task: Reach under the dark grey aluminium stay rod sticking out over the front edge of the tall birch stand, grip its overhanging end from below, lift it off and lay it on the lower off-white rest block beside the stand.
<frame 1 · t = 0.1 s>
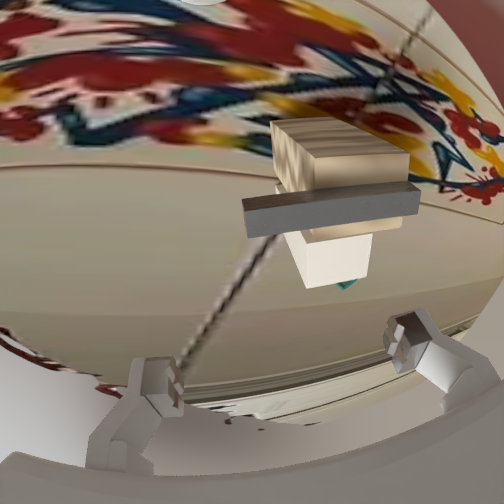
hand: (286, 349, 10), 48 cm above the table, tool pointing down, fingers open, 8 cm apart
stay rod: (332, 199, 32), point 26 cm above the table, touching tall stand
tall stand: (302, 143, 53), on the table
rest block: (300, 200, 60), on the table
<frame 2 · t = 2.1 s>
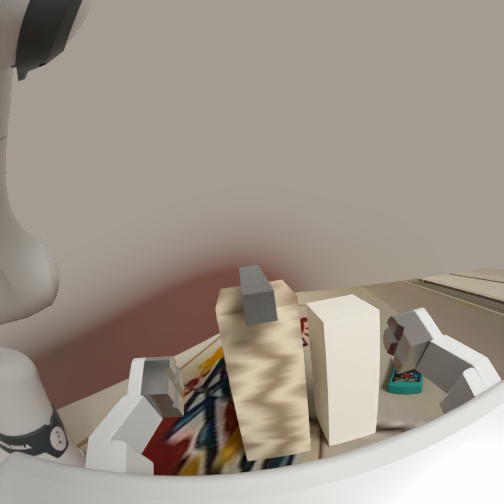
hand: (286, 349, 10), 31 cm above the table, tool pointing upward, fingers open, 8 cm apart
stay rod: (255, 299, 38), point 26 cm above the table, touching tall stand
tall stand: (275, 434, 44), on the table
digital multimeter: (407, 377, 53), on the table
rest block: (343, 423, 43), on the table
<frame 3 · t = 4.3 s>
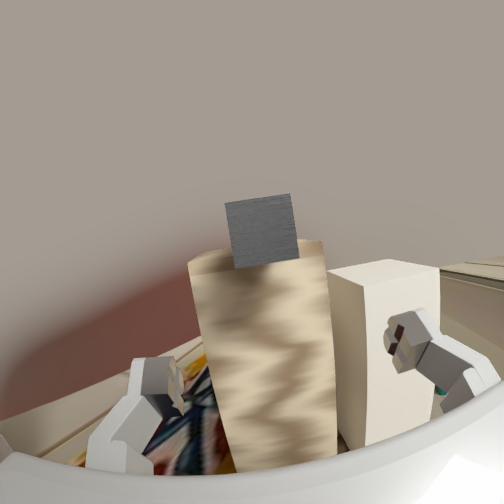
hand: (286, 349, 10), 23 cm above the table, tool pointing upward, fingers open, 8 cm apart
stay rod: (253, 250, 24), point 26 cm above the table, touching tall stand
tall stand: (284, 459, 29), on the table
rest block: (378, 439, 29), on the table
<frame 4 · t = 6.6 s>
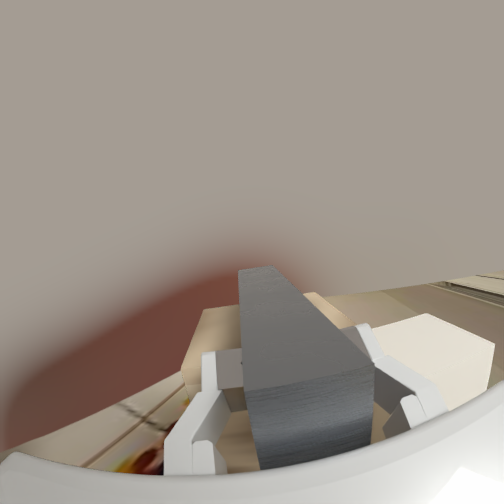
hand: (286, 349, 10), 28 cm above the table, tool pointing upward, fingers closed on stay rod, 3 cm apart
stay rod: (274, 341, 16), point 26 cm above the table, touching gripper, tall stand
rest block: (395, 498, 22), on the table
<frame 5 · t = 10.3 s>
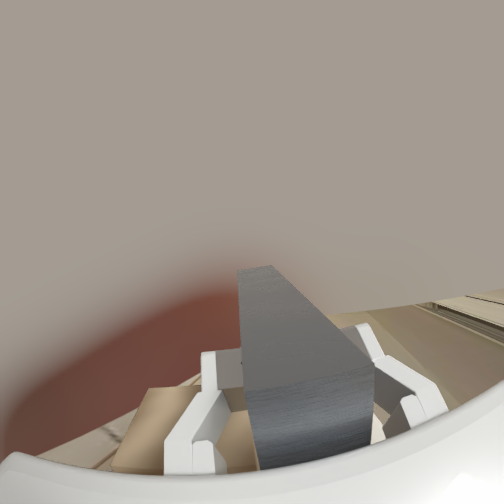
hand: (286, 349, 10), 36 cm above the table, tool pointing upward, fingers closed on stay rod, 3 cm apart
stay rod: (273, 342, 16), point 34 cm above the table, touching gripper
when the fingers open (24 cm above the table, at t = 14.3 s): stay rod stays where it is, resting on rest block.
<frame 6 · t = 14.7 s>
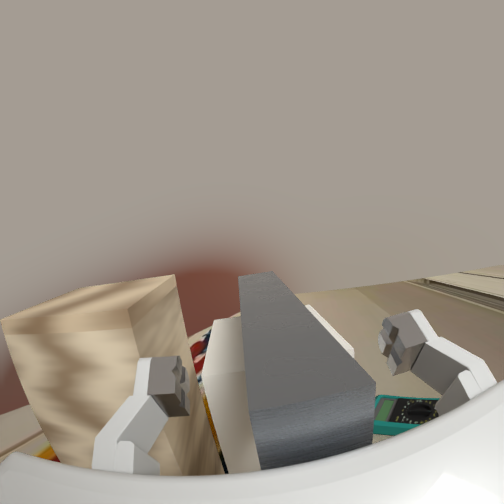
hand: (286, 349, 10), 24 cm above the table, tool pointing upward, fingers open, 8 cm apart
stay rod: (274, 350, 16), point 22 cm above the table, touching rest block
digital multimeter: (414, 425, 31), on the table
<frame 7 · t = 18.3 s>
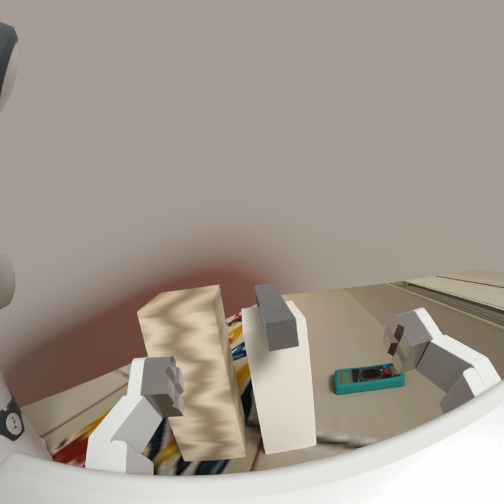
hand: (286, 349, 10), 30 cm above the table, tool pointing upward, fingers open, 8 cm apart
stay rod: (272, 319, 38), point 22 cm above the table, touching rest block
tall stand: (216, 438, 44), on the table
digital multimeter: (368, 384, 53), on the table
rest block: (286, 432, 43), on the table
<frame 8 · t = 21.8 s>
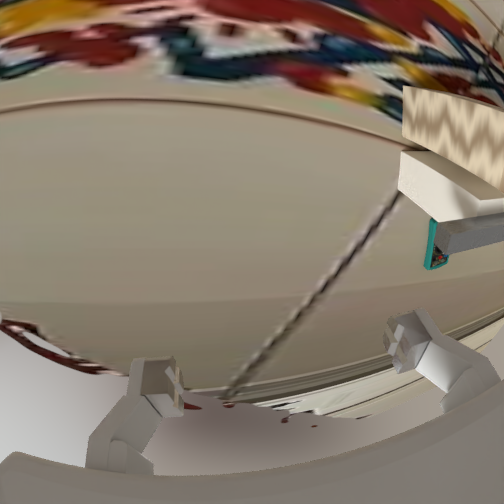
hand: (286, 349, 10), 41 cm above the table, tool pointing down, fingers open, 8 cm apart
stay rod: (481, 224, 33), point 22 cm above the table, touching rest block
tall stand: (426, 113, 45), on the table
digital multimeter: (436, 239, 63), on the table
rest block: (418, 169, 51), on the table
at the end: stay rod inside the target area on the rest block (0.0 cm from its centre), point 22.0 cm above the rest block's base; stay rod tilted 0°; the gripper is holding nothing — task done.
